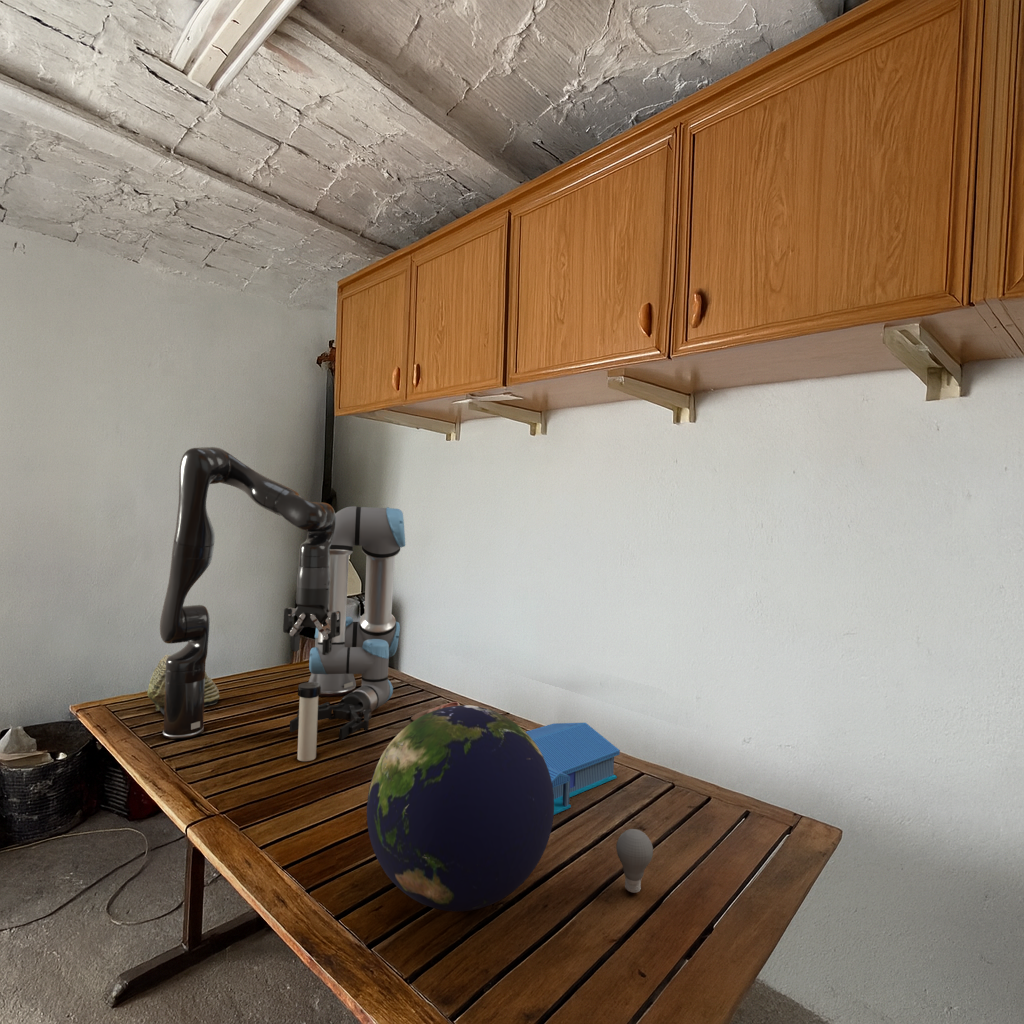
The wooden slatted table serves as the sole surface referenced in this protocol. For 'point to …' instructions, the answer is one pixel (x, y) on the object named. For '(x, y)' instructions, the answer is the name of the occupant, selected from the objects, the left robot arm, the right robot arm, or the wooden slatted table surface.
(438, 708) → the anatomical model
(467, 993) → the wooden slatted table surface
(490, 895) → the globe
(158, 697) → the fossil
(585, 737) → the model building
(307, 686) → the lid
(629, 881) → the light bulb
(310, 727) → the cream bottle
